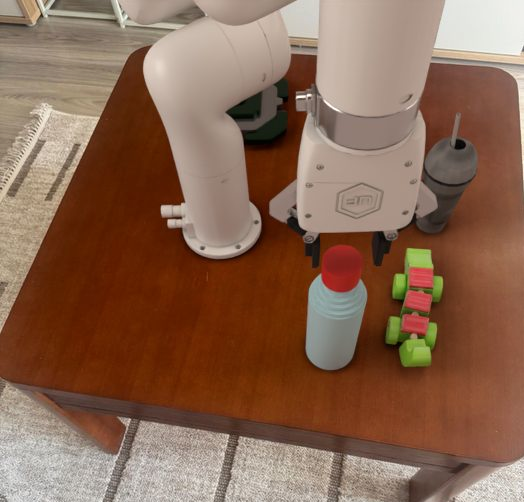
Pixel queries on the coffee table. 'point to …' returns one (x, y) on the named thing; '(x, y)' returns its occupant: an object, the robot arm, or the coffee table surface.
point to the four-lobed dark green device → (263, 115)
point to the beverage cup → (447, 177)
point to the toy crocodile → (415, 309)
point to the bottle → (333, 324)
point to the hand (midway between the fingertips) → (345, 255)
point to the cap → (341, 268)
